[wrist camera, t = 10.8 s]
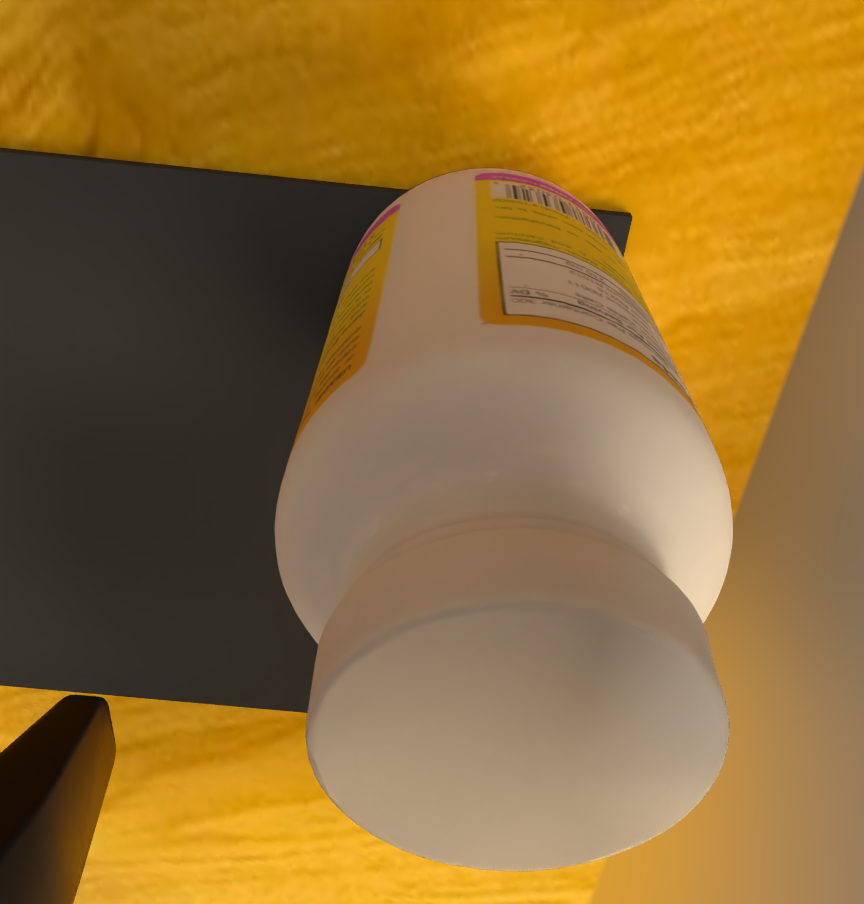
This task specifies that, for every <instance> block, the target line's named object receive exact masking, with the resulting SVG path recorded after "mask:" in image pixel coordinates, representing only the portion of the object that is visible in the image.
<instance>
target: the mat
mask: <svg viewBox="0 0 864 904" xmlns="http://www.w3.org/2000/svg"><path fill="white" fill-rule="evenodd" d="M408 191H409V190H403V189H393V188H384V187H374V186H364V185H355V184H345V183H335V182H326V181H316V180H306V179H297V178H287V177H277V176H268V175H258V174H248V173H239V172H229V171H219V170H210V169H200V168H190V167H181V166H171V165H161V164H152V163H142V162H132V161H123V160H113V159H103V158H94V157H84V156H74V155H65V154H55V153H45V152H36V151H26V150H16V149H7V148H0V685H2V686H14V687H25V688H36V689H47V690H58V691H70V692H81V693H92V694H103V695H114V696H125V697H137V698H148V699H159V700H170V701H181V702H193V703H204V704H215V705H226V706H237V707H249V708H260V709H271V710H282V711H293V712H304V713H308V707H309V700H310V693H311V686H312V680H313V673H314V666H315V660H316V655H317V650H318V644H317V642H316V641H315V640H314V638H313V637H312V636H311V634H310V633H309V632H308V630H307V629H306V627H305V626H304V624H303V623H302V621H301V620H300V618H299V617H298V615H297V613H296V612H295V610H294V608H293V606H292V604H291V602H290V600H289V597H288V595H287V593H286V591H285V588H284V586H283V582H282V579H281V576H280V571H279V567H278V562H277V554H276V546H275V518H276V507H277V502H278V497H279V492H280V487H281V484H282V480H283V477H284V474H285V470H286V466H287V463H288V460H289V457H290V454H291V451H292V448H293V445H294V442H295V439H296V436H297V432H298V429H299V426H300V423H301V420H302V417H303V414H304V411H305V407H306V404H307V401H308V398H309V395H310V392H311V388H312V385H313V381H314V378H315V374H316V371H317V368H318V365H319V362H320V358H321V355H322V352H323V348H324V345H325V342H326V339H327V336H328V332H329V329H330V325H331V322H332V319H333V316H334V313H335V309H336V306H337V303H338V300H339V296H340V292H341V289H342V286H343V283H344V280H345V277H346V274H347V271H348V268H349V265H350V263H351V260H352V257H353V255H354V253H355V251H356V249H357V247H358V245H359V243H360V241H361V240H362V238H363V236H364V234H365V233H366V231H367V230H368V229H369V227H370V226H371V225H372V223H373V222H374V221H375V220H376V218H377V217H378V216H379V215H380V214H381V213H382V212H383V211H384V210H385V209H386V208H387V207H388V206H389V205H391V204H392V203H393V202H394V201H395V200H396V199H398V198H399V197H400V196H402V195H403V194H405V193H406V192H408ZM590 210H591V211H592V212H593V213H594V214H595V215H596V217H597V218H598V219H599V220H600V221H601V222H602V224H603V225H604V227H605V228H606V229H607V231H608V232H609V234H610V235H611V236H612V238H613V240H614V241H615V243H616V245H617V246H618V248H619V250H620V252H621V254H622V256H624V252H625V247H626V243H627V238H628V234H629V230H630V225H631V221H632V216H631V214H630V213H625V212H615V211H606V210H596V209H590Z"/></svg>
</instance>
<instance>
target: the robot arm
mask: <svg viewBox="0 0 864 904" xmlns="http://www.w3.org/2000/svg"><path fill="white" fill-rule="evenodd" d="M115 753H116V744H115V738H114V732H113V727H112V721H111V716H110V711H109V706H108V703H107V701H106V700H105V699H104V698H102V697H96V696H85V695H69V696H67V697H65V698H63V699H62V700H60V701H59V702H58V703H57V704H56V705H54V706H53V707H52V708H51V709H50V710H49V711H48V712H47V713H45V714H44V715H43V716H42V717H41V718H40V719H39V720H37V721H36V722H35V723H34V724H33V725H32V726H31V727H29V728H28V729H27V730H26V731H25V732H24V733H23V734H22V735H20V736H19V737H18V738H17V739H16V740H15V741H14V742H12V743H11V744H10V745H9V746H8V747H7V748H6V749H4V750H3V751H2V752H1V753H0V904H73V902H74V899H75V896H76V892H77V889H78V886H79V883H80V879H81V876H82V872H83V869H84V866H85V862H86V859H87V855H88V852H89V848H90V845H91V841H92V838H93V834H94V831H95V827H96V824H97V821H98V817H99V814H100V810H101V807H102V803H103V800H104V796H105V793H106V789H107V786H108V782H109V779H110V776H111V772H112V769H113V765H114V760H115Z"/></svg>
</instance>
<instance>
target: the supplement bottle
mask: <svg viewBox="0 0 864 904" xmlns="http://www.w3.org/2000/svg"><path fill="white" fill-rule="evenodd" d="M732 542H733V519H732V507H731V501H730V494H729V489H728V486H727V482H726V478H725V474H724V471H723V468H722V465H721V463H720V460H719V458H718V455H717V453H716V451H715V448H714V446H713V444H712V441H711V439H710V436H709V434H708V432H707V429H706V427H705V425H704V423H703V421H702V419H701V417H700V414H699V412H698V410H697V408H696V406H695V405H694V403H693V401H692V399H691V397H690V395H689V393H688V390H687V388H686V386H685V384H684V382H683V380H682V378H681V376H680V374H679V372H678V370H677V368H676V366H675V364H674V362H673V360H672V358H671V356H670V353H669V351H668V349H667V347H666V345H665V343H664V341H663V339H662V336H661V334H660V332H659V330H658V328H657V326H656V324H655V322H654V320H653V317H652V315H651V313H650V311H649V309H648V307H647V305H646V303H645V301H644V299H643V297H642V295H641V293H640V291H639V289H638V286H637V284H636V282H635V280H634V278H633V276H632V274H631V272H630V270H629V268H628V266H627V264H626V261H625V260H624V258H623V256H622V254H621V252H620V250H619V248H618V246H617V245H616V243H615V241H614V240H613V238H612V236H611V235H610V234H609V232H608V231H607V229H606V228H605V227H604V225H603V224H602V222H601V221H600V220H599V219H598V218H597V217H596V215H595V214H594V213H593V212H592V211H591V210H590V209H589V208H588V207H587V206H586V205H585V204H583V203H582V202H581V201H580V200H579V199H578V198H577V197H575V196H574V195H572V194H571V193H569V192H568V191H566V190H565V189H563V188H561V187H560V186H558V185H556V184H554V183H552V182H549V181H547V180H545V179H543V178H540V177H537V176H534V175H531V174H528V173H525V172H520V171H515V170H509V169H502V168H476V169H466V170H460V171H456V172H452V173H447V174H444V175H441V176H438V177H435V178H433V179H430V180H428V181H426V182H424V183H422V184H420V185H418V186H416V187H414V188H413V189H411V190H409V191H408V192H406V193H405V194H403V195H402V196H400V197H399V198H398V199H396V200H395V201H394V202H393V203H392V204H391V205H389V206H388V207H387V208H386V209H385V210H384V211H383V212H382V213H381V214H380V215H379V216H378V217H377V218H376V220H375V221H374V222H373V223H372V225H371V226H370V227H369V229H368V230H367V231H366V233H365V234H364V236H363V238H362V240H361V241H360V243H359V245H358V247H357V249H356V251H355V253H354V255H353V257H352V260H351V263H350V265H349V268H348V271H347V274H346V277H345V280H344V283H343V286H342V289H341V292H340V296H339V300H338V303H337V306H336V309H335V313H334V316H333V319H332V322H331V325H330V329H329V332H328V336H327V339H326V342H325V345H324V348H323V352H322V355H321V358H320V362H319V365H318V368H317V371H316V374H315V378H314V381H313V385H312V388H311V392H310V395H309V398H308V401H307V404H306V407H305V411H304V414H303V417H302V420H301V423H300V426H299V429H298V432H297V436H296V439H295V442H294V445H293V448H292V451H291V454H290V457H289V460H288V463H287V466H286V470H285V474H284V477H283V480H282V484H281V487H280V492H279V497H278V502H277V507H276V518H275V546H276V554H277V562H278V567H279V571H280V576H281V579H282V582H283V586H284V588H285V591H286V593H287V595H288V597H289V600H290V602H291V604H292V606H293V608H294V610H295V612H296V613H297V615H298V617H299V618H300V620H301V621H302V623H303V624H304V626H305V627H306V629H307V630H308V632H309V633H310V634H311V636H312V637H313V638H314V640H315V641H316V642H317V644H318V650H317V655H316V660H315V666H314V673H313V680H312V686H311V693H310V700H309V707H308V714H307V722H306V743H307V750H308V756H309V761H310V763H311V766H312V769H313V771H314V774H315V776H316V778H317V780H318V782H319V783H320V785H321V787H322V788H323V790H324V791H325V792H326V794H327V795H328V796H329V798H330V799H331V800H332V802H333V803H334V804H335V805H336V806H337V807H338V808H339V809H340V810H341V811H342V812H343V813H345V814H346V815H347V816H348V817H349V818H351V819H352V820H353V821H354V822H355V823H356V824H358V825H359V826H361V827H362V828H364V829H365V830H366V831H368V832H369V833H371V834H372V835H374V836H375V837H377V838H379V839H381V840H383V841H385V842H387V843H389V844H391V845H393V846H395V847H397V848H399V849H401V850H403V851H407V852H410V853H413V854H416V855H418V856H420V857H423V858H426V859H430V860H433V861H437V862H441V863H444V864H450V865H457V866H463V867H469V868H476V869H485V870H496V871H536V870H546V869H556V868H562V867H567V866H573V865H578V864H583V863H587V862H592V861H596V860H600V859H603V858H607V857H609V856H612V855H614V854H617V853H620V852H623V851H626V850H628V849H630V848H633V847H635V846H637V845H639V844H642V843H644V842H646V841H648V840H650V839H651V838H654V837H655V836H657V835H659V834H661V833H662V832H664V831H666V830H668V829H669V828H671V827H672V826H673V825H675V824H676V823H677V822H679V821H680V820H681V819H683V818H684V817H685V816H686V815H687V814H688V813H689V812H690V811H691V810H692V809H693V808H694V807H695V806H696V805H697V804H698V803H699V802H700V801H701V800H702V799H703V797H704V796H705V795H706V794H707V792H708V790H709V789H710V788H711V786H712V785H713V783H714V781H715V779H716V778H717V776H718V774H719V772H720V770H721V768H722V765H723V762H724V759H725V756H726V751H727V745H728V739H729V719H728V713H727V707H726V702H725V699H724V696H723V693H722V690H721V686H720V683H719V680H718V677H717V673H716V670H715V667H714V663H713V660H712V656H711V650H710V645H709V641H708V636H707V632H706V629H705V627H704V625H703V623H704V622H705V620H706V618H707V617H708V615H709V613H710V611H711V609H712V608H713V606H714V604H715V602H716V600H717V598H718V595H719V593H720V591H721V588H722V585H723V583H724V580H725V576H726V573H727V570H728V565H729V560H730V555H731V550H732Z"/></svg>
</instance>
